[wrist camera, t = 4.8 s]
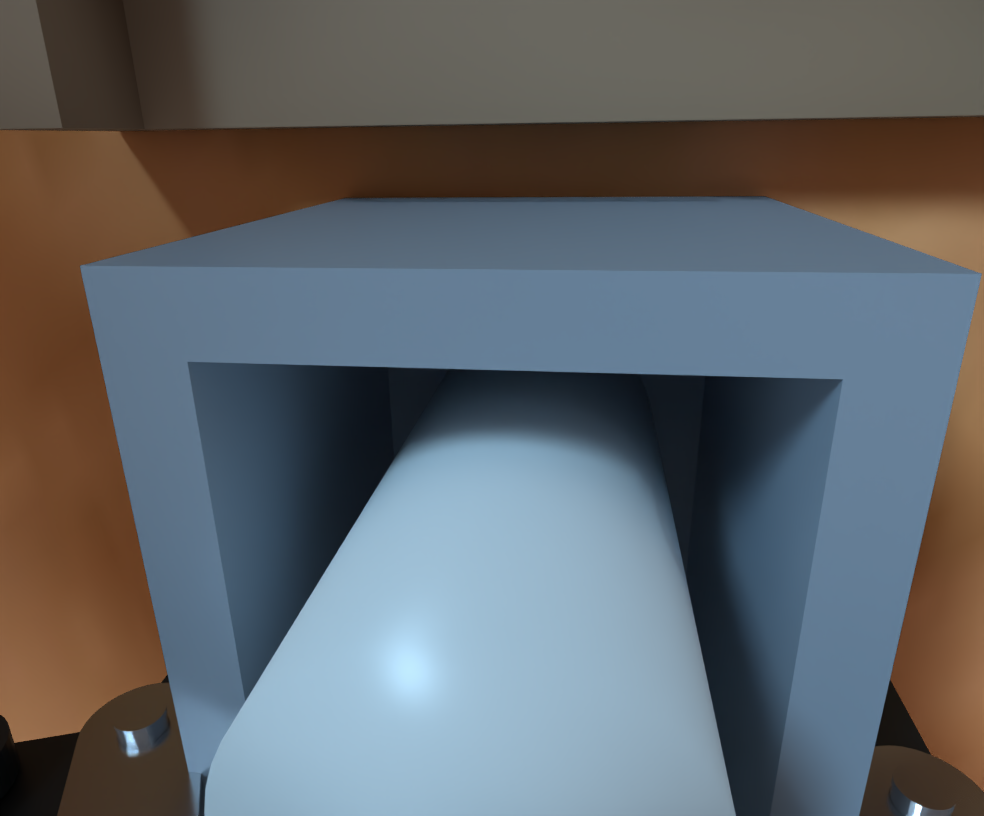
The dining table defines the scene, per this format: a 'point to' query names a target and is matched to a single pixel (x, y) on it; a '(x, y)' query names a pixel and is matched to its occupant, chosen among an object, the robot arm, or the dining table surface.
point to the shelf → (482, 62)
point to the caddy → (531, 499)
